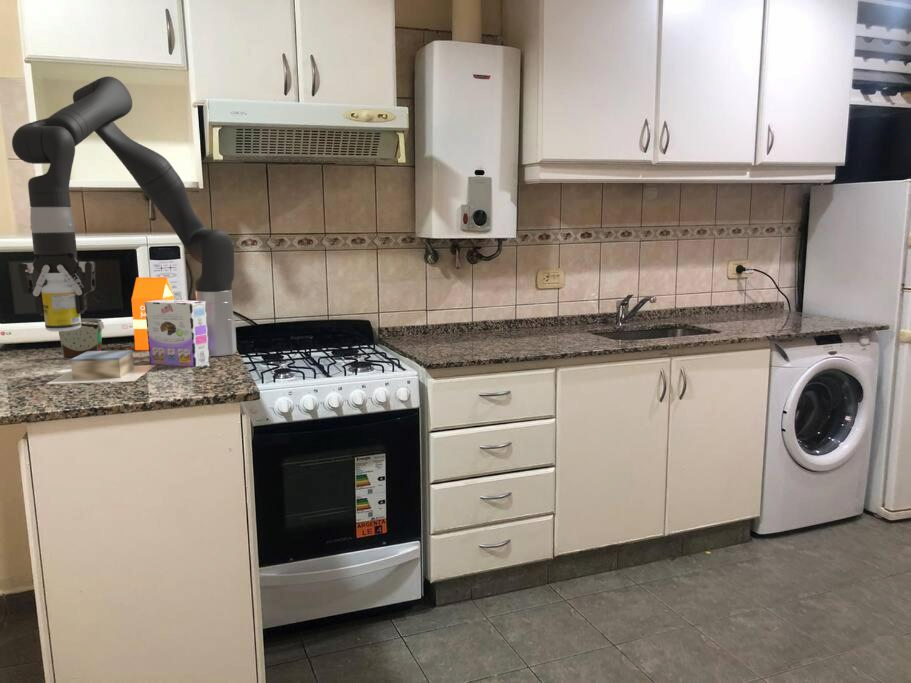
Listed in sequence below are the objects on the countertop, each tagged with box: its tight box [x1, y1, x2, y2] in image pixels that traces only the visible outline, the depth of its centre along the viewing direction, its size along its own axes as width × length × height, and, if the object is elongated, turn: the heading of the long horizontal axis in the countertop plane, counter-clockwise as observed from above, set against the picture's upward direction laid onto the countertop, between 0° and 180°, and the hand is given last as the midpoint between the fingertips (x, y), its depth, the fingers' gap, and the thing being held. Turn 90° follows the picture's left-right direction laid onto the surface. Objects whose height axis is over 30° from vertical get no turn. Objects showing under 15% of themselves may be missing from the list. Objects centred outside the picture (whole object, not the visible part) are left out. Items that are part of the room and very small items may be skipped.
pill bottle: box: [41, 273, 82, 332], centre depth 144 cm, size 6×6×12 cm
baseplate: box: [45, 364, 157, 385], centre depth 163 cm, size 18×18×1 cm
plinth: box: [70, 349, 135, 379], centre depth 162 cm, size 10×10×4 cm
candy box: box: [145, 299, 210, 370], centre depth 174 cm, size 14×6×16 cm, turn 71°
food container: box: [58, 318, 105, 360], centre depth 188 cm, size 12×6×10 cm, turn 84°
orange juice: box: [131, 276, 175, 351], centre depth 201 cm, size 8×9×20 cm
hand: (62, 313), depth 144 cm, fingers closed on pill bottle, 6 cm apart
